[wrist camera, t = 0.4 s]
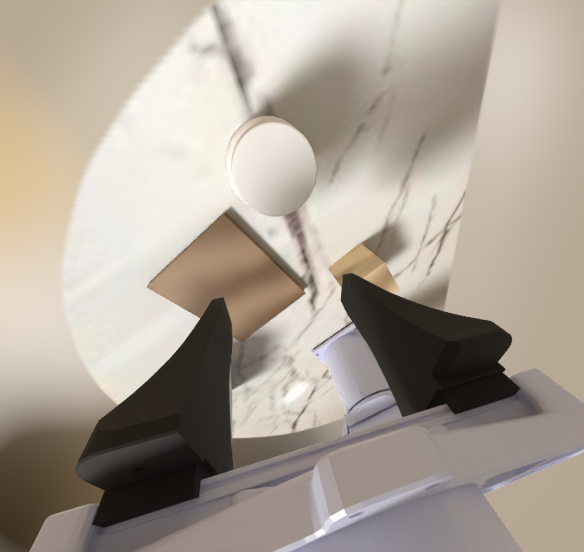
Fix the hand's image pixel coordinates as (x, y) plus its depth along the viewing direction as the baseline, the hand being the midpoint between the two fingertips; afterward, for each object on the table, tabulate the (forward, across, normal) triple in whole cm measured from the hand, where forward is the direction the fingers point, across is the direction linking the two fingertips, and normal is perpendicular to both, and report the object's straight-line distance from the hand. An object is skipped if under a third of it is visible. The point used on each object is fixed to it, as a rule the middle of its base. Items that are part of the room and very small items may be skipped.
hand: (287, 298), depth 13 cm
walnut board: (+9, +4, +5) cm, 11 cm away
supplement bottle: (+9, 0, -7) cm, 12 cm away
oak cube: (+10, -9, +5) cm, 14 cm away
